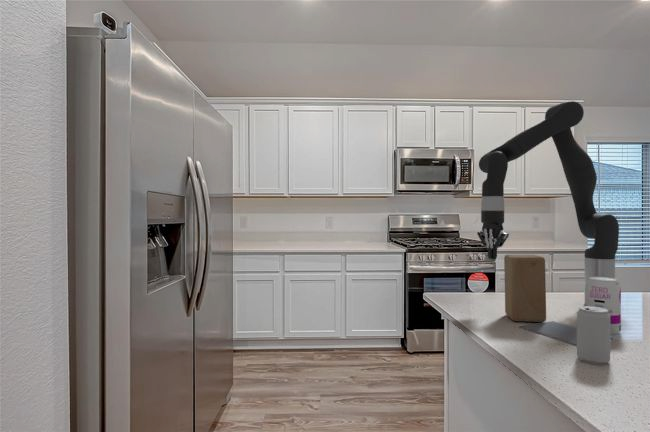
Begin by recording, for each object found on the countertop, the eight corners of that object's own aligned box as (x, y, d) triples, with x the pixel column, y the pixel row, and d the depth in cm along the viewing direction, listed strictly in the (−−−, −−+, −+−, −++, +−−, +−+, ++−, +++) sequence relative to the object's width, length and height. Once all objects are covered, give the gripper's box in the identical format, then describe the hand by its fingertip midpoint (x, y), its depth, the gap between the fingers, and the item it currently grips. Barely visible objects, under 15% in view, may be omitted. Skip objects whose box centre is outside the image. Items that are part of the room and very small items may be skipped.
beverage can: (570, 356, 96) (570, 305, 96) (596, 355, 96) (596, 304, 96) (590, 366, 90) (590, 312, 89) (617, 365, 90) (617, 311, 90)
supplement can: (614, 328, 118) (614, 277, 118) (625, 336, 111) (625, 281, 111) (582, 325, 121) (582, 275, 121) (590, 333, 113) (590, 280, 113)
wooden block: (547, 322, 123) (546, 257, 124) (512, 321, 125) (510, 256, 126) (537, 315, 133) (535, 254, 133) (504, 314, 135) (503, 254, 135)
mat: (553, 322, 125) (553, 321, 125) (612, 339, 109) (612, 337, 109) (518, 326, 120) (518, 325, 120) (575, 345, 104) (575, 344, 104)
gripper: (515, 209, 137) (515, 260, 137) (487, 209, 149) (486, 256, 150) (498, 209, 134) (498, 261, 135) (470, 209, 147) (470, 257, 147)
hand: (492, 259), depth 142 cm, fingers closed
